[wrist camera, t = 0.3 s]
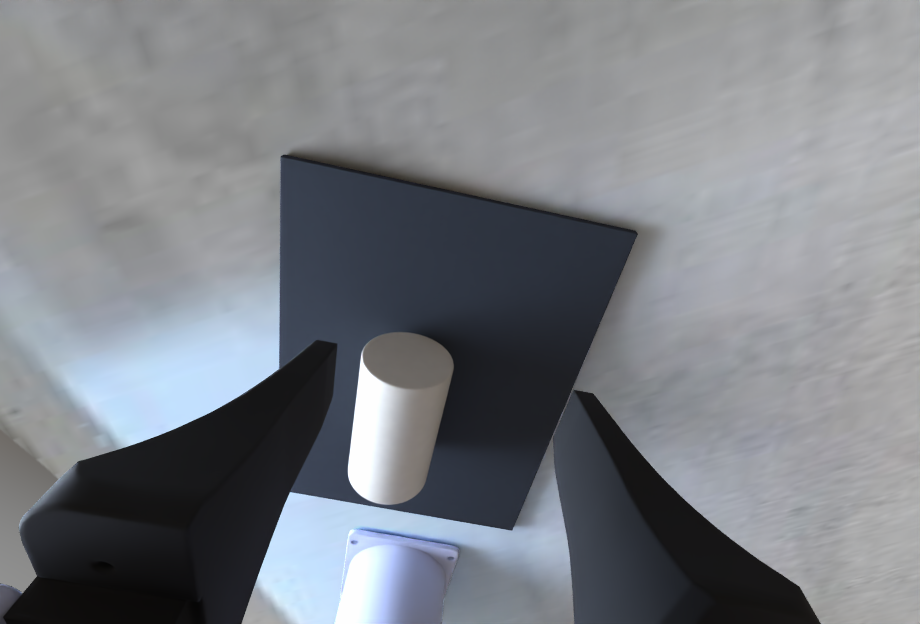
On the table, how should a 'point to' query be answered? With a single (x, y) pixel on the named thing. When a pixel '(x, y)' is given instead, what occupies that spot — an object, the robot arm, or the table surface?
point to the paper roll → (397, 415)
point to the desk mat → (443, 321)
